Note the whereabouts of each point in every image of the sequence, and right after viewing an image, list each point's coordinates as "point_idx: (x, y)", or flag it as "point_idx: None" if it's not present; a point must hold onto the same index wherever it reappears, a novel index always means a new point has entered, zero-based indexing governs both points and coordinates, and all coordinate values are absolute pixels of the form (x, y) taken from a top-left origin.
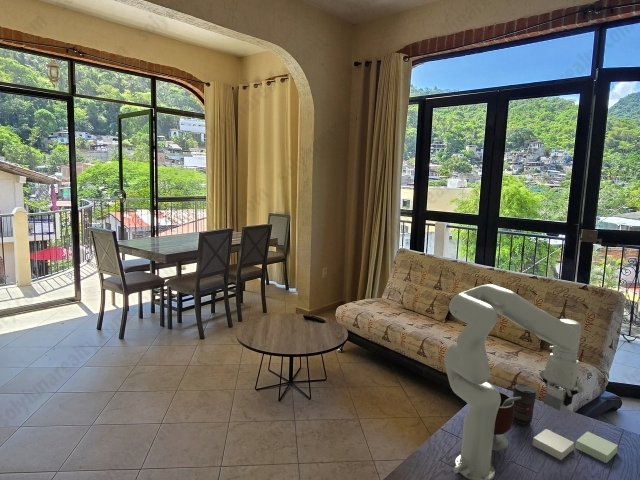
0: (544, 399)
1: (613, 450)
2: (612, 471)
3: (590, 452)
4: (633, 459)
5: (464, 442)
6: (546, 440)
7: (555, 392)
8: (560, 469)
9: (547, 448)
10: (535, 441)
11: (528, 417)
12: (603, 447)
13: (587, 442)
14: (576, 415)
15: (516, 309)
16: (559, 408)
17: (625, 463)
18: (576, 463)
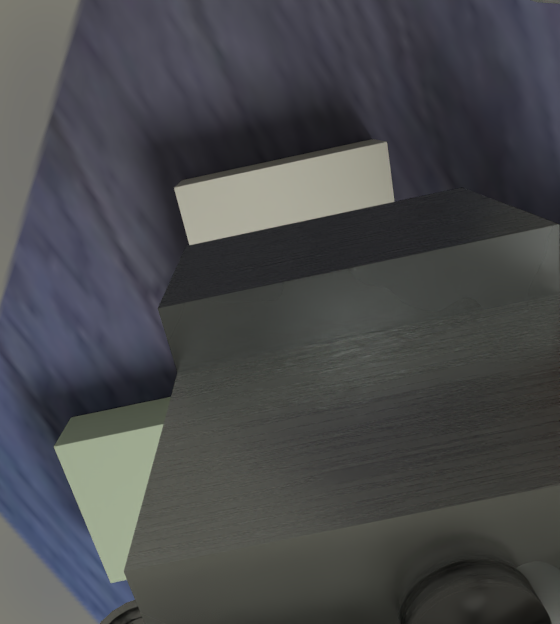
0: (494, 203)
1: (90, 524)
2: (6, 383)
3: (151, 409)
4: (54, 569)
5: None
6: (319, 211)
7: (383, 403)
8: (113, 82)
9: (274, 162)
10: (363, 144)
11: None
12: (122, 495)
13: None
14: None
15: None
16: (194, 254)
17: (41, 507)
18: (125, 250)
